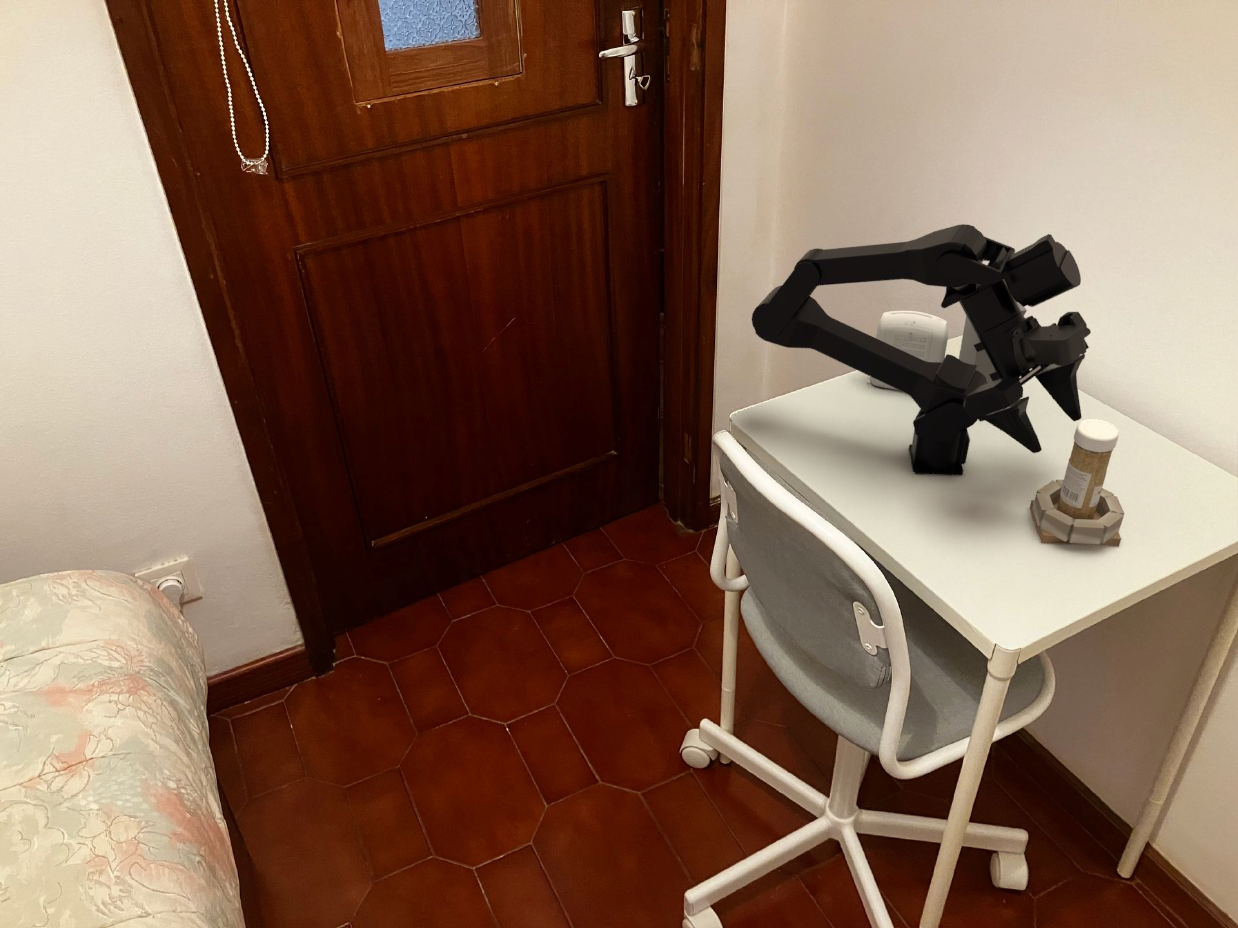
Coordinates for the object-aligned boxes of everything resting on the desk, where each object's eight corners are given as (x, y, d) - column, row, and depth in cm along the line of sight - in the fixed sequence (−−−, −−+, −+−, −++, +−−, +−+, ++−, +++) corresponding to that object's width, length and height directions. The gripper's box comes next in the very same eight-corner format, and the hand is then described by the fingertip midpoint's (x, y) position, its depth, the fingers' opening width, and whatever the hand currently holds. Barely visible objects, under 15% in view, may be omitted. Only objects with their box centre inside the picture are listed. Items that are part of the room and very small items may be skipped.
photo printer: (941, 384, 155) (953, 311, 148) (937, 398, 152) (949, 324, 144) (872, 374, 158) (881, 302, 151) (867, 387, 155) (876, 314, 148)
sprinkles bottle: (1100, 528, 124) (1127, 436, 116) (1064, 532, 123) (1090, 441, 116) (1080, 505, 127) (1106, 415, 120) (1046, 510, 127) (1069, 419, 119)
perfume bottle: (1012, 409, 148) (1036, 297, 138) (965, 411, 148) (986, 299, 138) (998, 386, 154) (1021, 276, 143) (953, 387, 154) (972, 278, 144)
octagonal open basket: (1041, 549, 123) (1047, 525, 121) (1025, 501, 130) (1031, 478, 128) (1124, 553, 122) (1131, 529, 119) (1103, 504, 129) (1110, 481, 127)
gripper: (1008, 330, 111) (1074, 454, 112) (1095, 272, 121) (1155, 387, 122) (934, 360, 121) (995, 474, 122) (1020, 304, 130) (1076, 410, 131)
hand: (1058, 435), depth 124 cm, fingers open, 9 cm apart
